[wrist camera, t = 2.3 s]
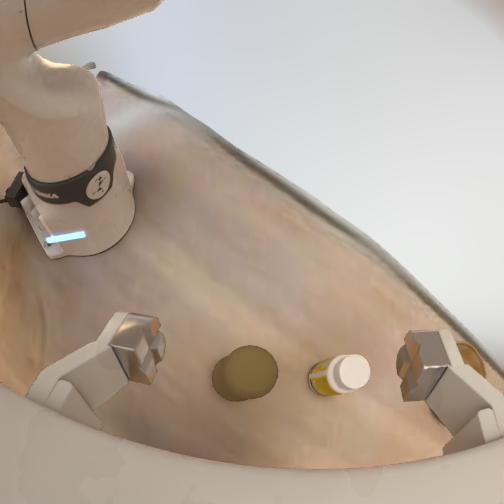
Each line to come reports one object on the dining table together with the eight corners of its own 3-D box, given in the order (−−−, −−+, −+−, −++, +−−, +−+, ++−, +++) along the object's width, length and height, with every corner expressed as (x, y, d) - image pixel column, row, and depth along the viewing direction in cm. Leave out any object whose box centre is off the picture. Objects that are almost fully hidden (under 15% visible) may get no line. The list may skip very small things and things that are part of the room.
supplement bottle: (337, 397, 36) (370, 394, 28) (304, 393, 35) (333, 390, 28) (341, 364, 38) (375, 353, 31) (310, 358, 38) (339, 347, 30)
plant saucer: (412, 387, 38) (422, 385, 36) (452, 328, 44) (461, 324, 42) (450, 441, 34) (460, 441, 32) (484, 382, 40) (494, 379, 38)
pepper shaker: (210, 355, 36) (218, 339, 26) (258, 353, 37) (283, 336, 27) (213, 402, 33) (222, 405, 23) (262, 399, 34) (290, 399, 24)
